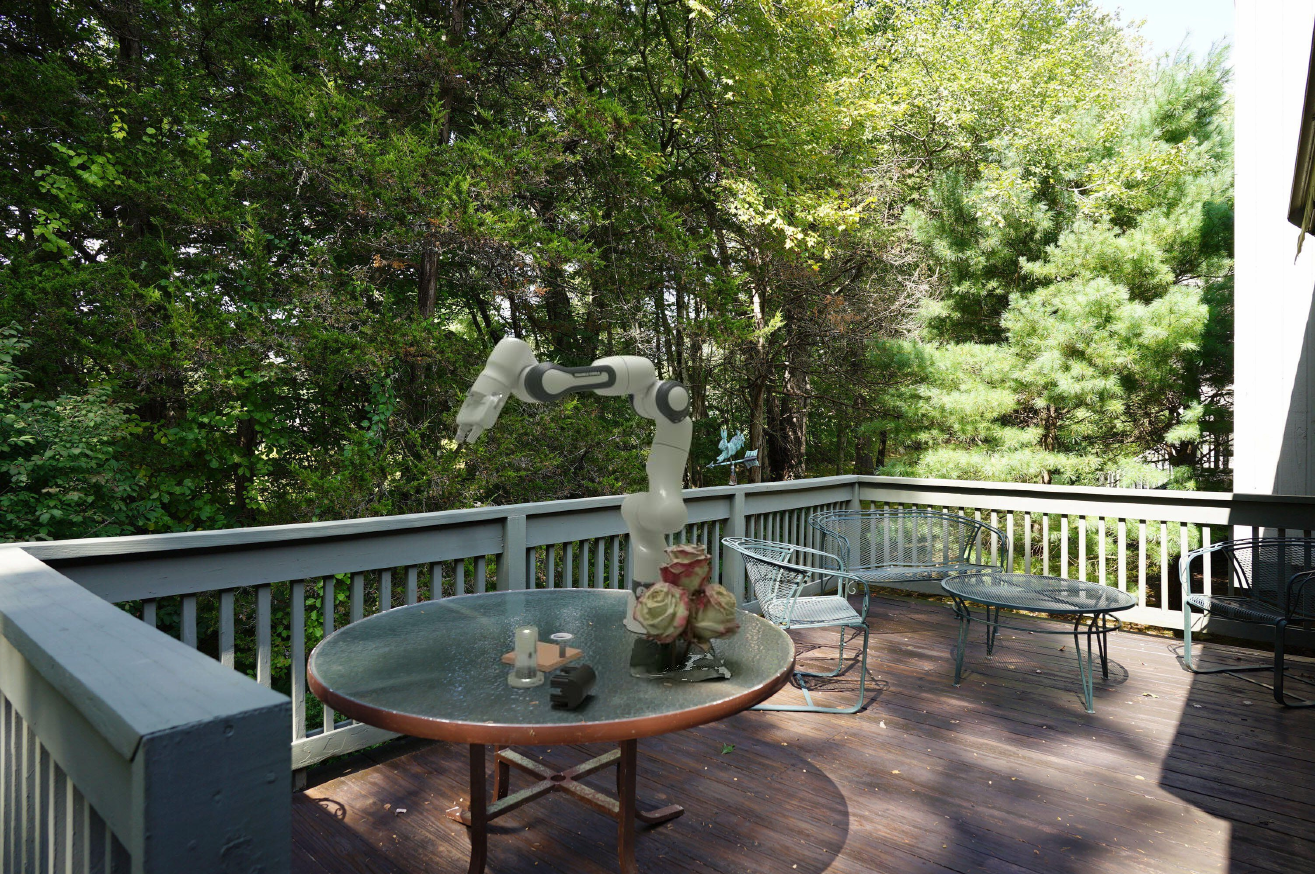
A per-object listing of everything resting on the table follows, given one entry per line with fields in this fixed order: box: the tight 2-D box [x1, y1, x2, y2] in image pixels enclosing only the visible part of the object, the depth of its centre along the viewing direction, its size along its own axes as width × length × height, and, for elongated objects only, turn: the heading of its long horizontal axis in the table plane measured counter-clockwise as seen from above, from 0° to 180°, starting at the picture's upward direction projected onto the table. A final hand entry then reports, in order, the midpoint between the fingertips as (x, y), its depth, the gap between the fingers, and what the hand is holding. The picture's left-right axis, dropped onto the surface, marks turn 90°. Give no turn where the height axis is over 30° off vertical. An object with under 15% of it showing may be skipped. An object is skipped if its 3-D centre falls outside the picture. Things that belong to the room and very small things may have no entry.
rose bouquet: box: [629, 542, 741, 683], centre depth 174 cm, size 26×29×30 cm
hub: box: [507, 625, 545, 690], centre depth 161 cm, size 8×8×12 cm
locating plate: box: [501, 641, 583, 673], centre depth 177 cm, size 14×14×4 cm
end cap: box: [549, 663, 597, 711], centre depth 150 cm, size 10×7×7 cm
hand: (463, 442), depth 177 cm, fingers open, 8 cm apart
